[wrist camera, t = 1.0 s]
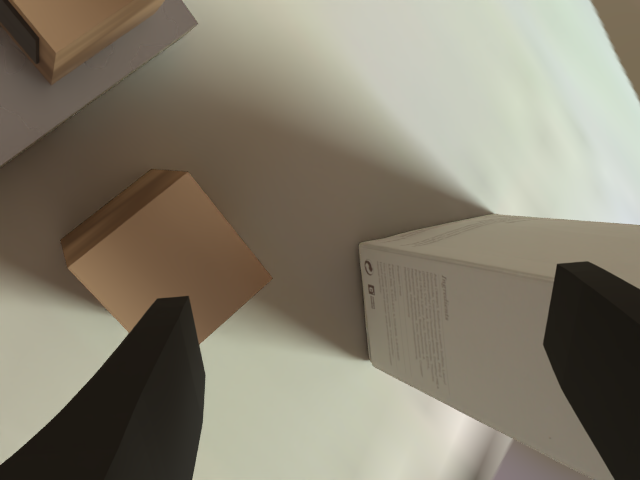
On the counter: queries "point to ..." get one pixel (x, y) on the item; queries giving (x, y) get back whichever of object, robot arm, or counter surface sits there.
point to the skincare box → (488, 319)
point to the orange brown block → (69, 29)
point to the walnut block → (164, 253)
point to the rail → (76, 78)
